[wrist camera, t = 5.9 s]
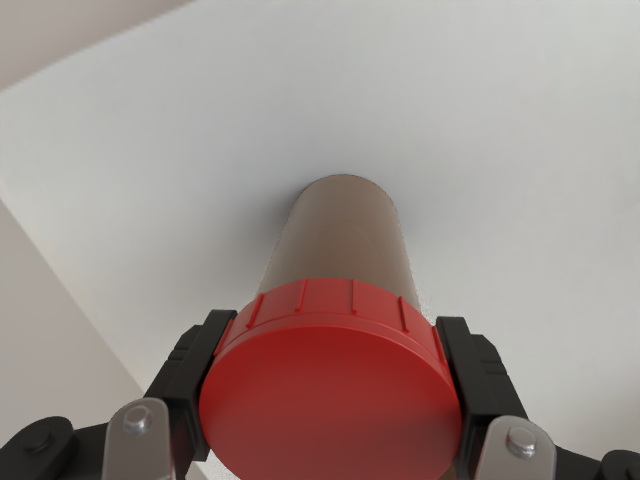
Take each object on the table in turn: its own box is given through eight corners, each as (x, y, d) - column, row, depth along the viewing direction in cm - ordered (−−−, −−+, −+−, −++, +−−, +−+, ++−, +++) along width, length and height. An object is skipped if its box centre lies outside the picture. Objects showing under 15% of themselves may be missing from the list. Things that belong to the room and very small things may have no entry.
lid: (236, 441, 13) (216, 502, 11) (205, 273, 10) (173, 319, 8) (435, 453, 12) (448, 520, 10) (461, 278, 9) (484, 328, 8)
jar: (290, 271, 21) (227, 475, 11) (288, 172, 19) (205, 314, 9) (392, 276, 21) (428, 494, 11) (404, 176, 19) (463, 331, 8)
